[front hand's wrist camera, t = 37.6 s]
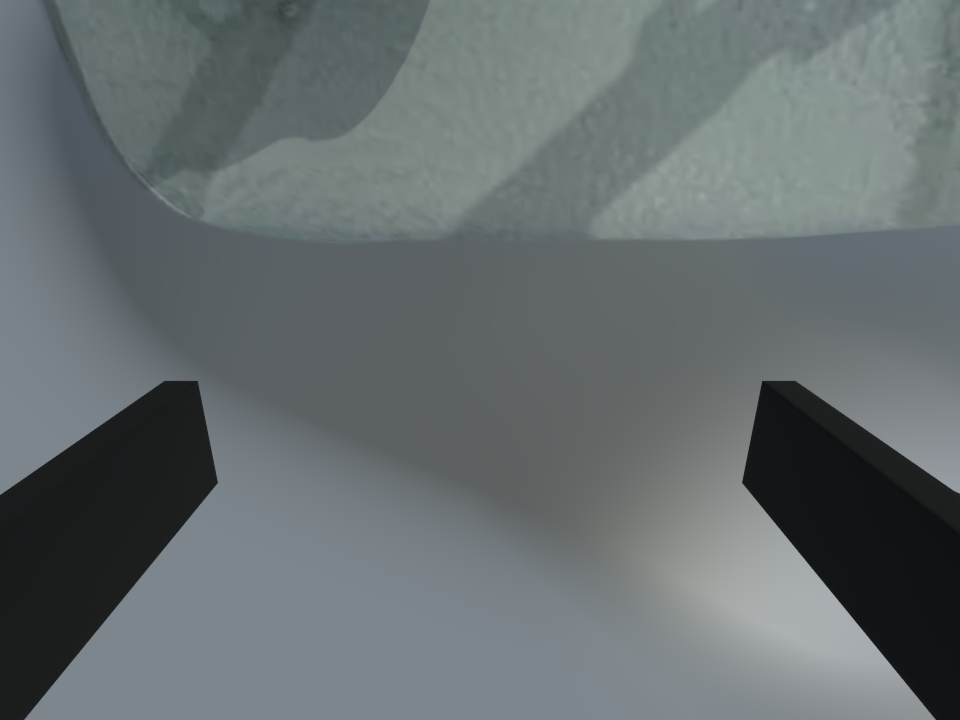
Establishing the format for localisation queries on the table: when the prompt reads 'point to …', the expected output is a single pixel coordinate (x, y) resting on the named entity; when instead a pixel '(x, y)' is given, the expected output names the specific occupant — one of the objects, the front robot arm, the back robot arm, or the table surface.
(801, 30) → the table surface
